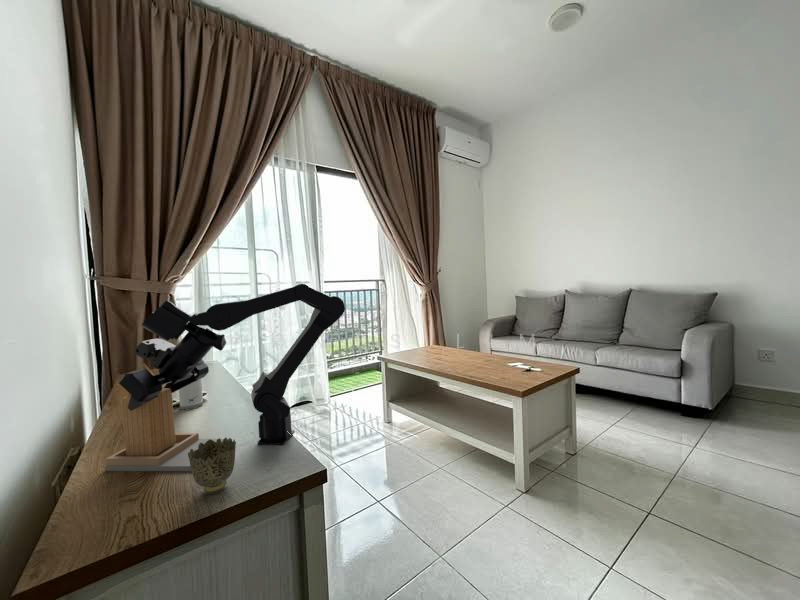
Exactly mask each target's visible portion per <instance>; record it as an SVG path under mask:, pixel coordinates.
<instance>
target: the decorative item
mask: <svg viewBox="0 0 800 600" xmlns="http://www.w3.org/2000/svg"><path fill="white" fill-rule="evenodd" d="M140 369H147V370H148V371H149V372H150V373H151V374H152V375H153V376H154V373H153V372H152V371H151V369H150V368H149V367H148V366H147V365H146V363H145V362H143V363H142V365H141V366H140ZM157 396H158V397H156V398H155V399H153V400H151V401H149V402H147V403H145V404H143V405H142V406H140V407H138V408H136V409H134V410H132V411H130V410H129V409H128V404H129V400H130V397H131V394H130V393H129V392H128V395H126V396H124V397H123V396H122V398H121V400H120V404H121V413H122V414H121V415H122V426H123V434H124V435H123V436H124V446H125V447H124V449H125V448H126V456H127V457H153V456H156V455H158V454H159V453H161V452H162V451H164V450H166V449H167V448H169V447H170V446H172V445H174V444H175V442H176V437H175V433H176V428H175V426H176V425H175V416H174V415H175V414H174V407H173V404H174V403H173V393H172V392H171V389H170V388H164V385H162V391H161V392H160V393H159V394H158V395H157Z"/></svg>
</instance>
